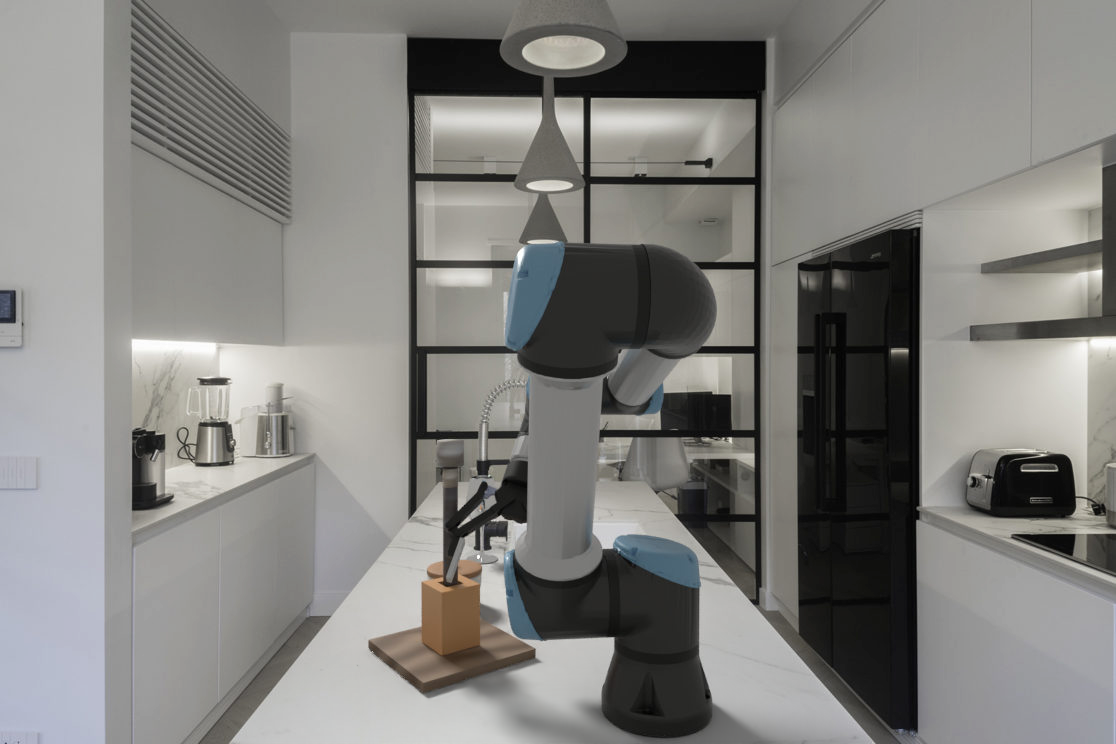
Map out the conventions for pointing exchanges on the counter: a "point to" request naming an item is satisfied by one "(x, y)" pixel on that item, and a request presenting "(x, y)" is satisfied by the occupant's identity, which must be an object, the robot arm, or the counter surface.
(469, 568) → the lidded jar
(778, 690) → the counter surface
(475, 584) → the sleeve
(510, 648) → the stand
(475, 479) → the wineglass
